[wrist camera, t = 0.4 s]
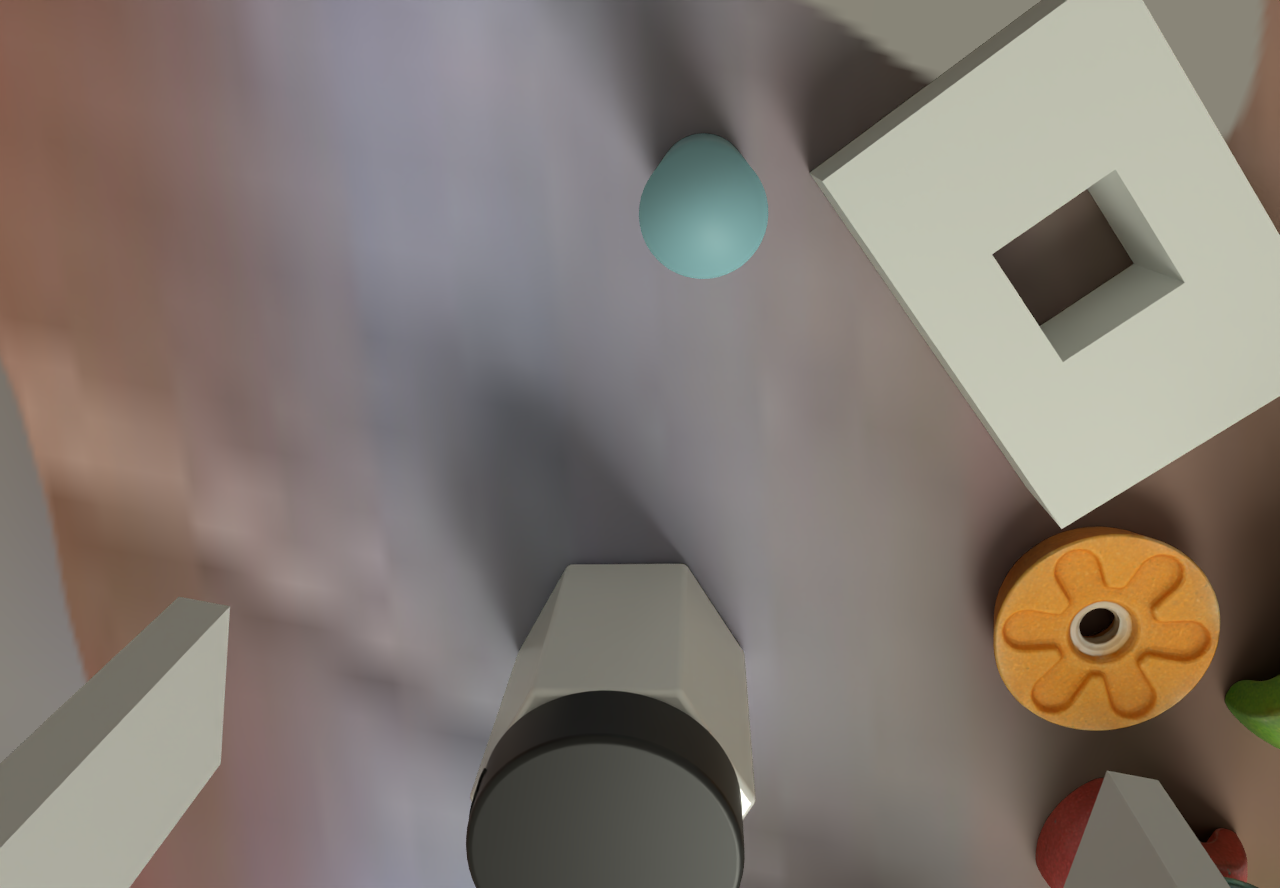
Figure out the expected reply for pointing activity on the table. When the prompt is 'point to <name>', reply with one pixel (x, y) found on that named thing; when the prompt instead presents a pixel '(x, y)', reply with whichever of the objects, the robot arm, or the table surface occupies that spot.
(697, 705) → the jar
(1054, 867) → the colourful stacking toy
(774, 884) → the table surface
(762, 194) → the peg
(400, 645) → the table surface
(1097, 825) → the robot arm
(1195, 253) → the socket block
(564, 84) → the table surface
